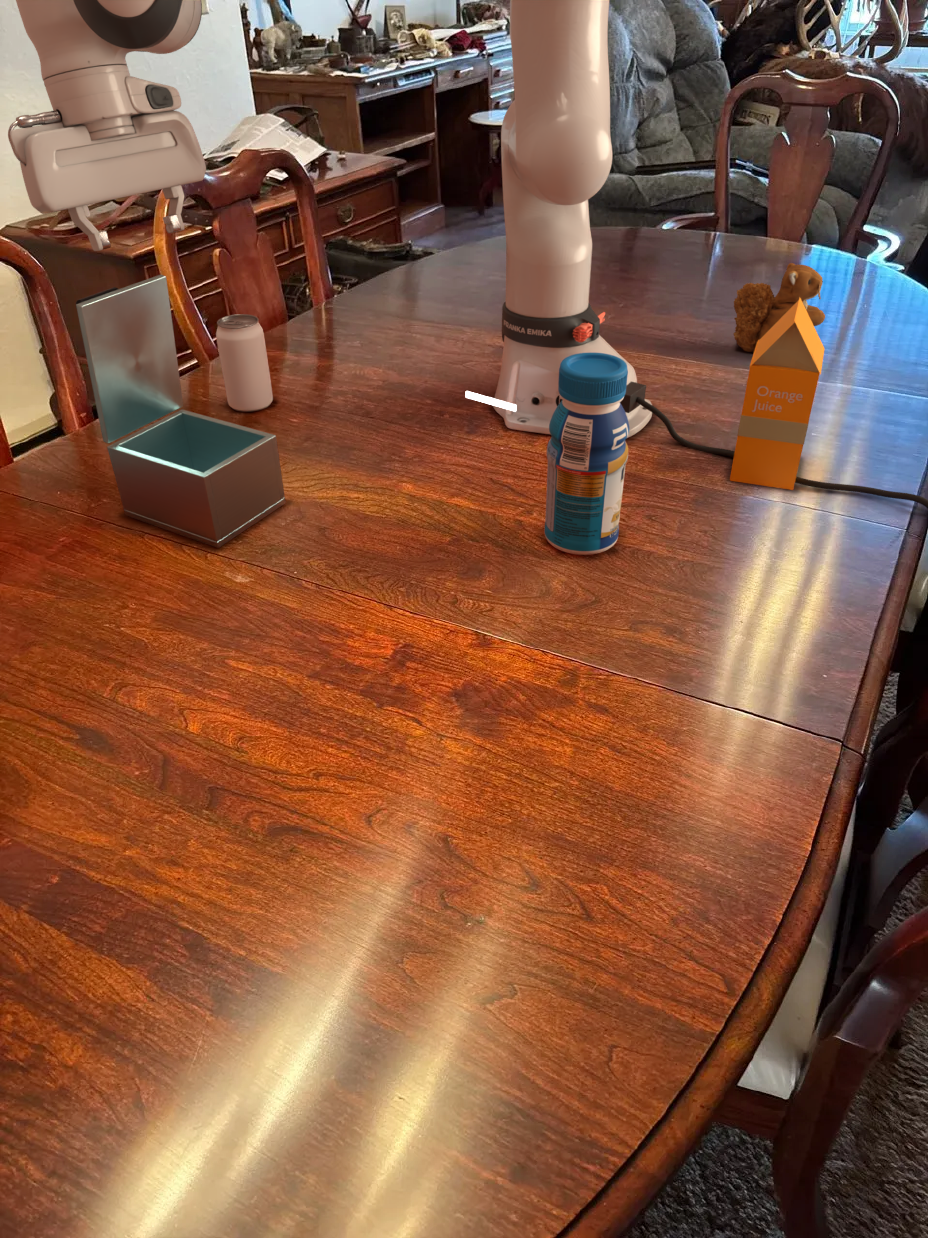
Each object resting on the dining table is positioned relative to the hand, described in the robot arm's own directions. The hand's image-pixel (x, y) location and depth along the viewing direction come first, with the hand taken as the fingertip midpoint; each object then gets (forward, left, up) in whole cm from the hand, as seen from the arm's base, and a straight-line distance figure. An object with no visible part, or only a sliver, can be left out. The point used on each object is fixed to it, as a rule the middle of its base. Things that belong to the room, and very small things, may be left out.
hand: (140, 240), depth 105 cm
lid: (-7, +10, -9) cm, 16 cm away
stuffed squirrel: (-57, -73, -27) cm, 96 cm away
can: (+2, -16, -27) cm, 31 cm away
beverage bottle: (-55, -6, -27) cm, 61 cm away
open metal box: (-14, +10, -26) cm, 31 cm away
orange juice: (-68, -32, -27) cm, 79 cm away
